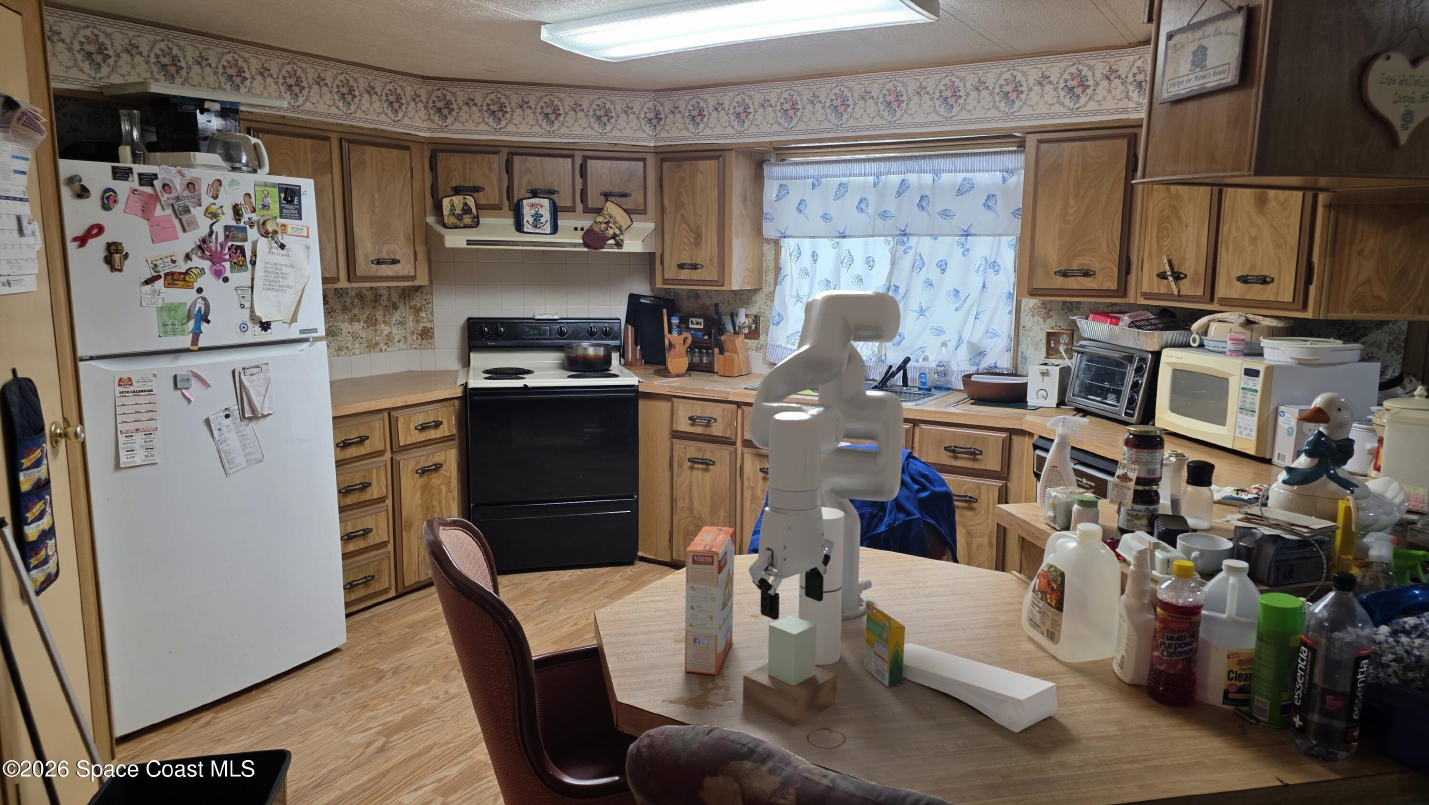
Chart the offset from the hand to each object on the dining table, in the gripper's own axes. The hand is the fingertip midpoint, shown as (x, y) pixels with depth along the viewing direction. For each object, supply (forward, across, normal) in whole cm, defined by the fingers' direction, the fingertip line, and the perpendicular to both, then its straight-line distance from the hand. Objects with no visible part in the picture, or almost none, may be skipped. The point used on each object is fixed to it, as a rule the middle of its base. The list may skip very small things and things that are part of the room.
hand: (792, 607), depth 134 cm
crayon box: (+16, -17, +4) cm, 24 cm away
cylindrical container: (+16, -15, -8) cm, 23 cm away
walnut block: (+15, +1, 0) cm, 15 cm away
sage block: (+10, 0, 0) cm, 11 cm away
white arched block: (+16, -22, +15) cm, 32 cm away
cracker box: (+16, -1, -20) cm, 25 cm away
